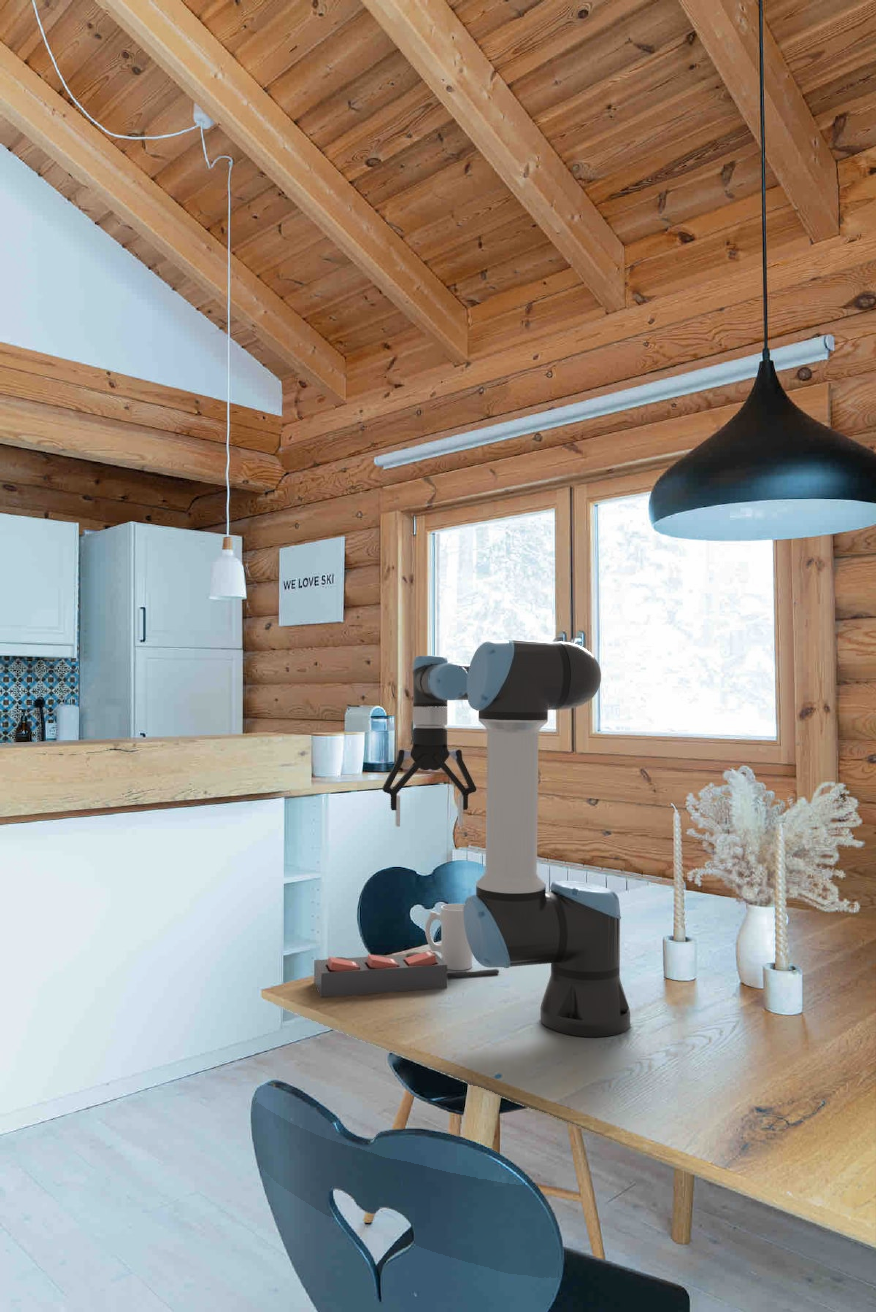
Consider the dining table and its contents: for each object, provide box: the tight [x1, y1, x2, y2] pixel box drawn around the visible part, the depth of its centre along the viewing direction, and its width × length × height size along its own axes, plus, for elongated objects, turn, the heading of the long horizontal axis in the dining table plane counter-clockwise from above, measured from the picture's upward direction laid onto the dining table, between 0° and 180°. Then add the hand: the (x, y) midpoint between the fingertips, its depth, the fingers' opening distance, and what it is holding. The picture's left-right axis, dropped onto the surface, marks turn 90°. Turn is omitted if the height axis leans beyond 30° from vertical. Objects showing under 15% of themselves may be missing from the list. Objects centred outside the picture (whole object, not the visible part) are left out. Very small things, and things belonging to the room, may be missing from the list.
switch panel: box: [313, 951, 500, 998], centre depth 183 cm, size 9×36×5 cm, turn 106°
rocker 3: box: [404, 949, 436, 966], centre depth 182 cm, size 4×5×2 cm
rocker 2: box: [366, 953, 398, 968], centre depth 180 cm, size 4×5×2 cm
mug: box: [424, 903, 474, 971], centre depth 195 cm, size 10×7×12 cm, turn 80°
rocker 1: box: [327, 956, 359, 971], centre depth 178 cm, size 4×5×2 cm
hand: (429, 825), depth 205 cm, fingers open, 13 cm apart
